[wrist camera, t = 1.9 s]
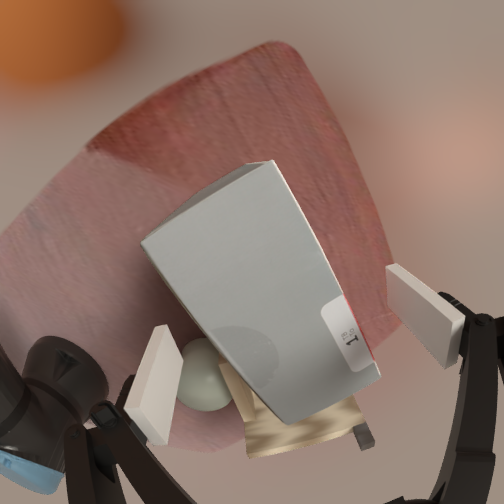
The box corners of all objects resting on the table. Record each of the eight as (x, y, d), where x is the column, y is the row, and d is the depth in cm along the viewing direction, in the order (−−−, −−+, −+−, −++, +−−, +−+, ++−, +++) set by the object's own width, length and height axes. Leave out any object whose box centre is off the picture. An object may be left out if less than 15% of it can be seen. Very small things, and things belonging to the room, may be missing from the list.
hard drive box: (311, 272, 36) (384, 381, 17) (258, 303, 36) (283, 431, 17) (247, 159, 31) (274, 157, 12) (187, 195, 32) (130, 247, 13)
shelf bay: (243, 381, 40) (251, 479, 24) (219, 320, 37) (216, 423, 21) (332, 357, 40) (374, 446, 24) (322, 292, 37) (379, 380, 20)
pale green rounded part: (191, 380, 39) (186, 414, 33) (174, 343, 37) (165, 375, 31) (237, 371, 40) (239, 406, 33) (223, 332, 37) (223, 365, 31)
